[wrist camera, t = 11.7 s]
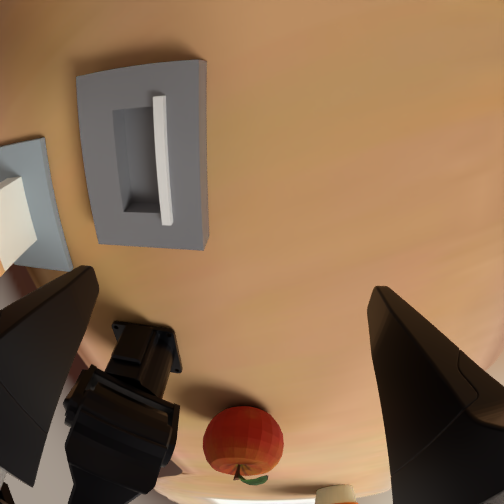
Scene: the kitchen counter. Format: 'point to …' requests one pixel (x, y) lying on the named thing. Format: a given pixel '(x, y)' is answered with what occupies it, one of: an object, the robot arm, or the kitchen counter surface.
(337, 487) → the reusable coffee cup
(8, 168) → the mat
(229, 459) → the fruit
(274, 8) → the kitchen counter surface
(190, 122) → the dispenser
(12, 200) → the tan banded white slab
